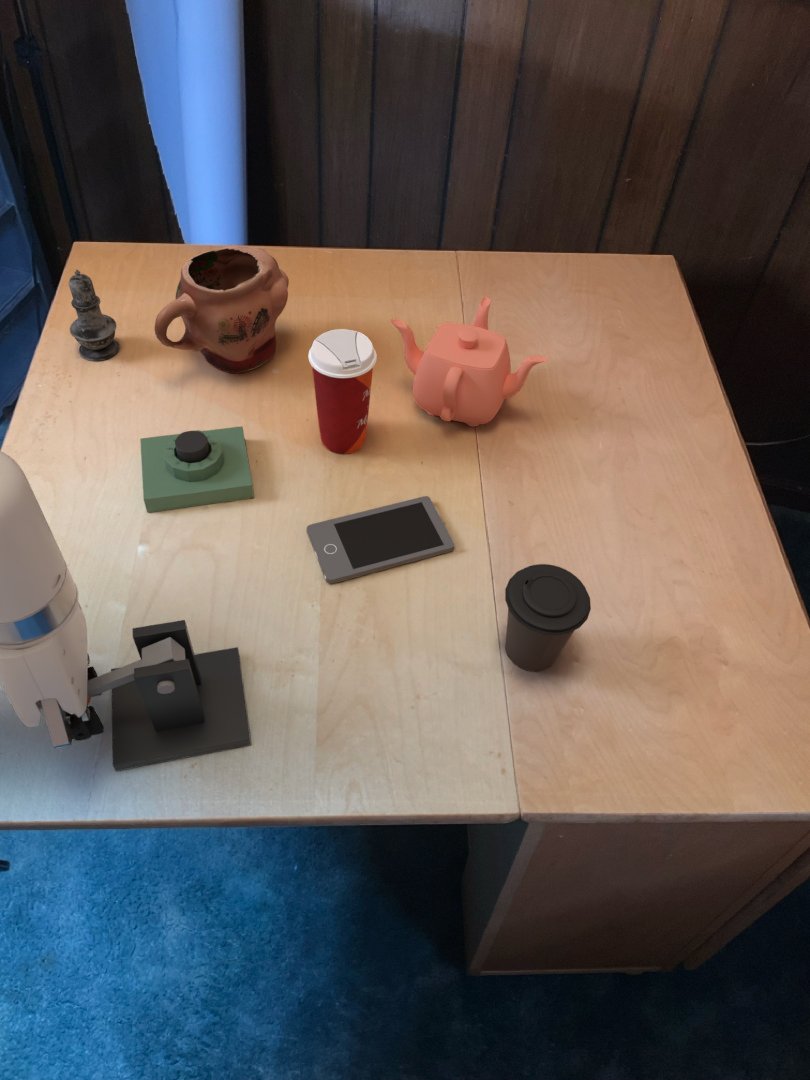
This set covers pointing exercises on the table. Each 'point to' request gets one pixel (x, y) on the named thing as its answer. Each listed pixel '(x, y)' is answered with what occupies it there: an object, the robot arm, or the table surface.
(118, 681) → the switch lever
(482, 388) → the teapot
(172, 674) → the lever base
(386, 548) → the smartphone
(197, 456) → the button
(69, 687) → the robot arm
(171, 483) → the control block
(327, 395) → the paper cup
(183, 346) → the decorative planter
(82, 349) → the salt shaker
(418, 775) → the table surface
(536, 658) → the coffee cup
